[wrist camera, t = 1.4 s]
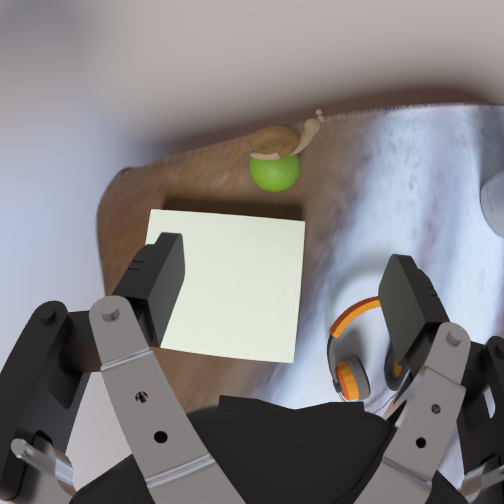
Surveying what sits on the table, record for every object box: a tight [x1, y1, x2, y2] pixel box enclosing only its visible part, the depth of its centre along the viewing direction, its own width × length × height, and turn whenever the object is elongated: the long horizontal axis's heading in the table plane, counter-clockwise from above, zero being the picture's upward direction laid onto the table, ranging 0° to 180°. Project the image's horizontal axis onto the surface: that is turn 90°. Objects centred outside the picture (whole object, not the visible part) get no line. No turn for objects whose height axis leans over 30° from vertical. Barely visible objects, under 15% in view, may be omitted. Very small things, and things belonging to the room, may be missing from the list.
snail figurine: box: [249, 109, 324, 192], centre depth 28 cm, size 5×6×12 cm
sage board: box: [146, 209, 305, 363], centre depth 31 cm, size 16×14×3 cm
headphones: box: [327, 296, 410, 414], centre depth 28 cm, size 16×5×20 cm
